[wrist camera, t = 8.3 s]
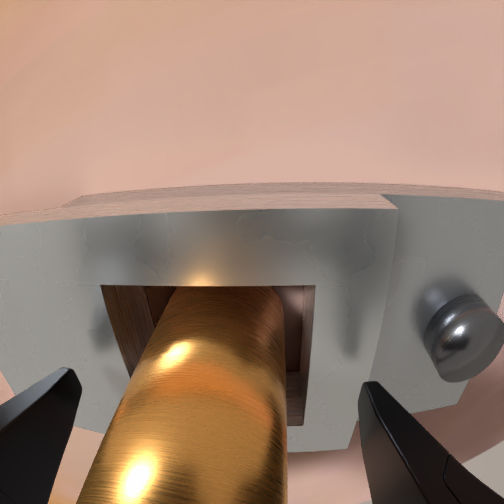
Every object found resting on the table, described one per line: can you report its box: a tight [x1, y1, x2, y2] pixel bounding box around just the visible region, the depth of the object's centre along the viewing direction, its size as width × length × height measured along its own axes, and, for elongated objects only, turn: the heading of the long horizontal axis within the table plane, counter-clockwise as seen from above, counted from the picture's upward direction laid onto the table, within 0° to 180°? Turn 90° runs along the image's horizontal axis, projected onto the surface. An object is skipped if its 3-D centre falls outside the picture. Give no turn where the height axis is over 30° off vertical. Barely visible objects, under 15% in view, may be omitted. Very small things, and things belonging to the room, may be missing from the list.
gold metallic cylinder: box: [76, 286, 287, 504], centre depth 8 cm, size 4×4×9 cm
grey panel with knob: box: [0, 183, 504, 452], centre depth 11 cm, size 10×22×3 cm, turn 93°
